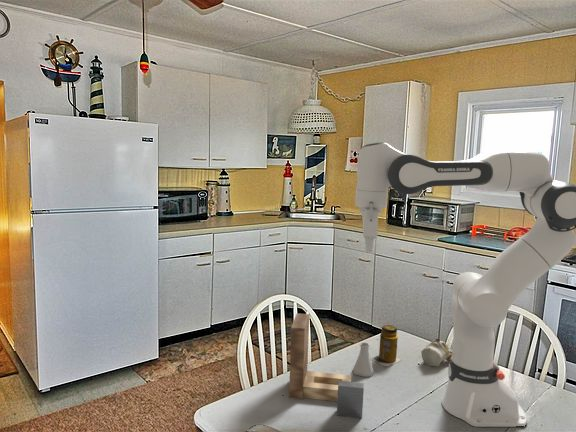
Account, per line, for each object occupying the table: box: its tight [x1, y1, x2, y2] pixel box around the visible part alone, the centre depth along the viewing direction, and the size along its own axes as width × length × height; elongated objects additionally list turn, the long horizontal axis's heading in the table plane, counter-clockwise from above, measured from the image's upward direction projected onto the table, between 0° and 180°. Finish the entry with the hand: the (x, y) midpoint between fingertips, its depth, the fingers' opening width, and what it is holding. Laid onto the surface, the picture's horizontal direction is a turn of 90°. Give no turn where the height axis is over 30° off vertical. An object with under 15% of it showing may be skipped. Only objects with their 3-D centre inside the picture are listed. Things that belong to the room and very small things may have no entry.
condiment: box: [370, 324, 401, 367], centre depth 163 cm, size 7×8×12 cm
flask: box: [352, 341, 375, 378], centre depth 154 cm, size 7×7×10 cm
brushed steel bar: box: [336, 381, 365, 419], centre depth 129 cm, size 7×3×9 cm, turn 81°
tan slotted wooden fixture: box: [288, 312, 352, 402], centre depth 140 cm, size 18×12×22 cm, turn 81°
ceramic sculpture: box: [421, 338, 452, 367], centre depth 164 cm, size 11×9×15 cm
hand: (368, 248), depth 132 cm, fingers open, 8 cm apart
